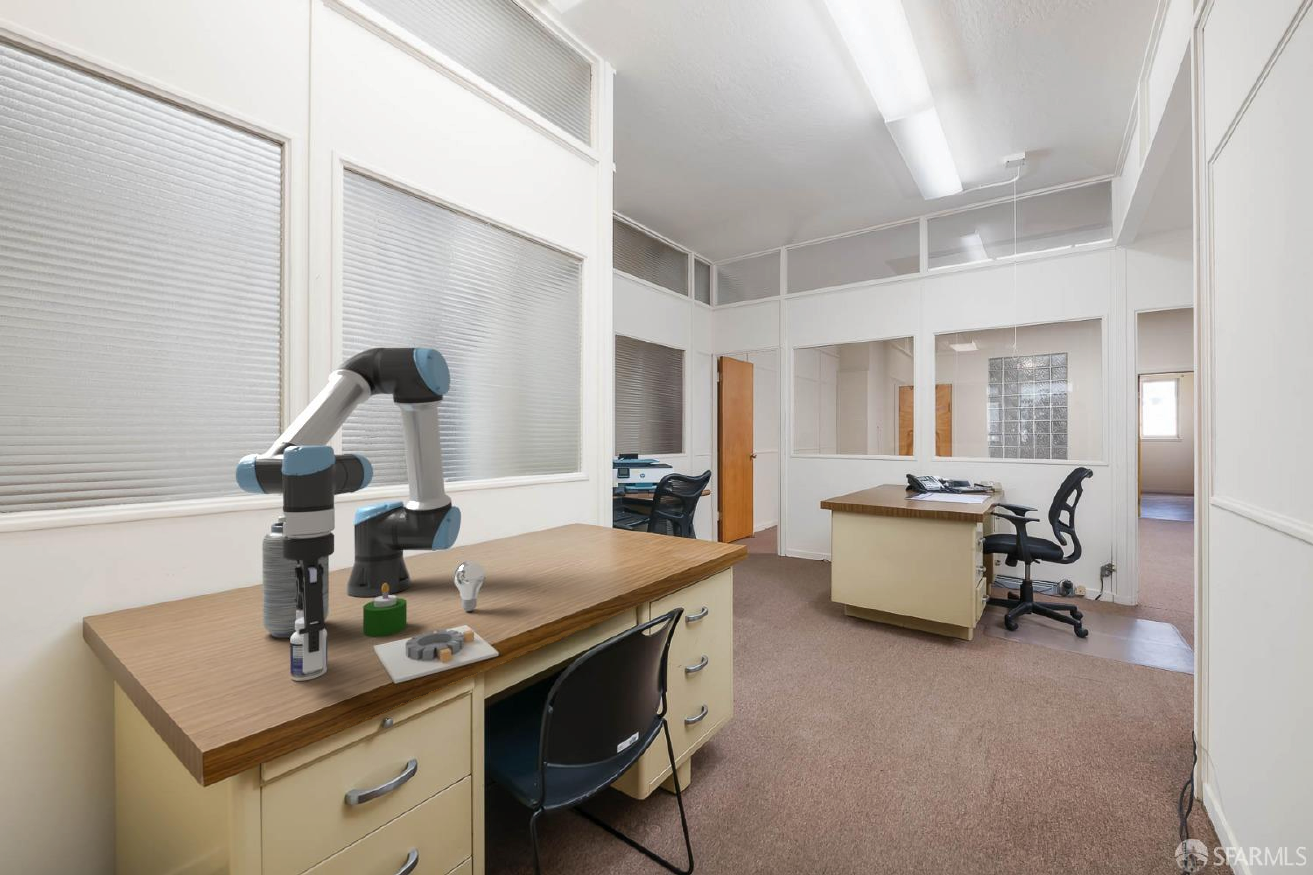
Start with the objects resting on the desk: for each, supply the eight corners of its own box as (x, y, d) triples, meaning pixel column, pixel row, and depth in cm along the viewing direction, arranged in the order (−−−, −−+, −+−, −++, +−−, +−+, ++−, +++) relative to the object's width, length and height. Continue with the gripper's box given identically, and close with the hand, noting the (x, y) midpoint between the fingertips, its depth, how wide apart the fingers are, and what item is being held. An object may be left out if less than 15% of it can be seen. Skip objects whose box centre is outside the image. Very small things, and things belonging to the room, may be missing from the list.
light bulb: (474, 617, 119) (474, 565, 119) (447, 615, 121) (447, 563, 121) (490, 607, 126) (490, 558, 126) (464, 605, 128) (464, 556, 127)
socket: (373, 648, 102) (373, 636, 102) (466, 627, 113) (466, 616, 113) (395, 683, 88) (395, 669, 88) (498, 655, 99) (498, 642, 99)
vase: (337, 618, 118) (337, 518, 118) (313, 638, 107) (313, 527, 107) (281, 621, 116) (281, 519, 116) (250, 642, 105) (249, 528, 105)
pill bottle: (302, 667, 94) (302, 613, 94) (333, 666, 94) (333, 613, 94) (283, 682, 88) (283, 624, 88) (316, 681, 89) (316, 624, 89)
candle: (415, 624, 115) (415, 579, 115) (387, 638, 107) (387, 590, 107) (383, 621, 117) (383, 576, 117) (353, 634, 109) (353, 587, 109)
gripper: (278, 526, 98) (278, 639, 98) (287, 548, 79) (287, 689, 79) (325, 522, 103) (325, 630, 103) (344, 542, 84) (344, 675, 84)
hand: (308, 656), depth 91 cm, fingers open, 12 cm apart
